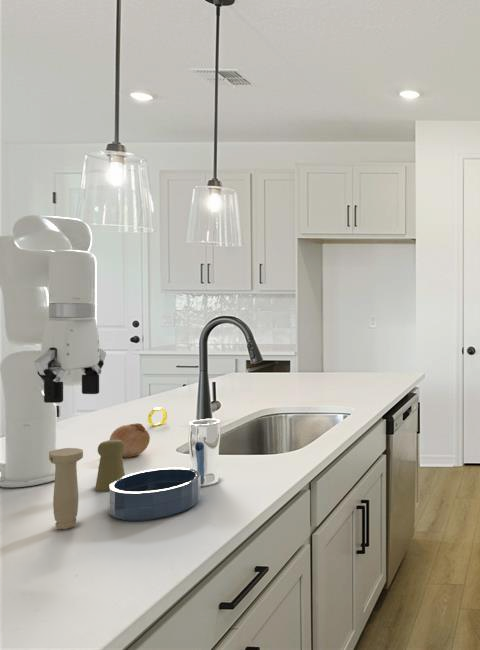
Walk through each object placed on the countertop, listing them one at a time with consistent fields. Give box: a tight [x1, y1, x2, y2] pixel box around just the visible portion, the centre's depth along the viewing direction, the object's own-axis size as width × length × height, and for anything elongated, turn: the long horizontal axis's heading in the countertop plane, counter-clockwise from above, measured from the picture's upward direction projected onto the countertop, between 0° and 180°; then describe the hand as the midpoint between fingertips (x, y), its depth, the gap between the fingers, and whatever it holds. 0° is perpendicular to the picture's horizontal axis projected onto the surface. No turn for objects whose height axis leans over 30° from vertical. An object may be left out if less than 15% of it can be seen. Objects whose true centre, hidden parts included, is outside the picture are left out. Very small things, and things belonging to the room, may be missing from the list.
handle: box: [49, 447, 84, 531], centre depth 111 cm, size 5×6×15 cm
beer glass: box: [187, 418, 222, 487], centre depth 138 cm, size 7×7×15 cm
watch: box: [147, 406, 168, 427], centre depth 195 cm, size 6×3×6 cm, turn 156°
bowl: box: [108, 467, 201, 522], centre depth 122 cm, size 17×17×6 cm
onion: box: [109, 422, 151, 459], centre depth 159 cm, size 10×9×10 cm
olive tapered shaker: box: [95, 439, 126, 492], centre depth 134 cm, size 6×6×11 cm
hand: (72, 397), depth 113 cm, fingers open, 9 cm apart
